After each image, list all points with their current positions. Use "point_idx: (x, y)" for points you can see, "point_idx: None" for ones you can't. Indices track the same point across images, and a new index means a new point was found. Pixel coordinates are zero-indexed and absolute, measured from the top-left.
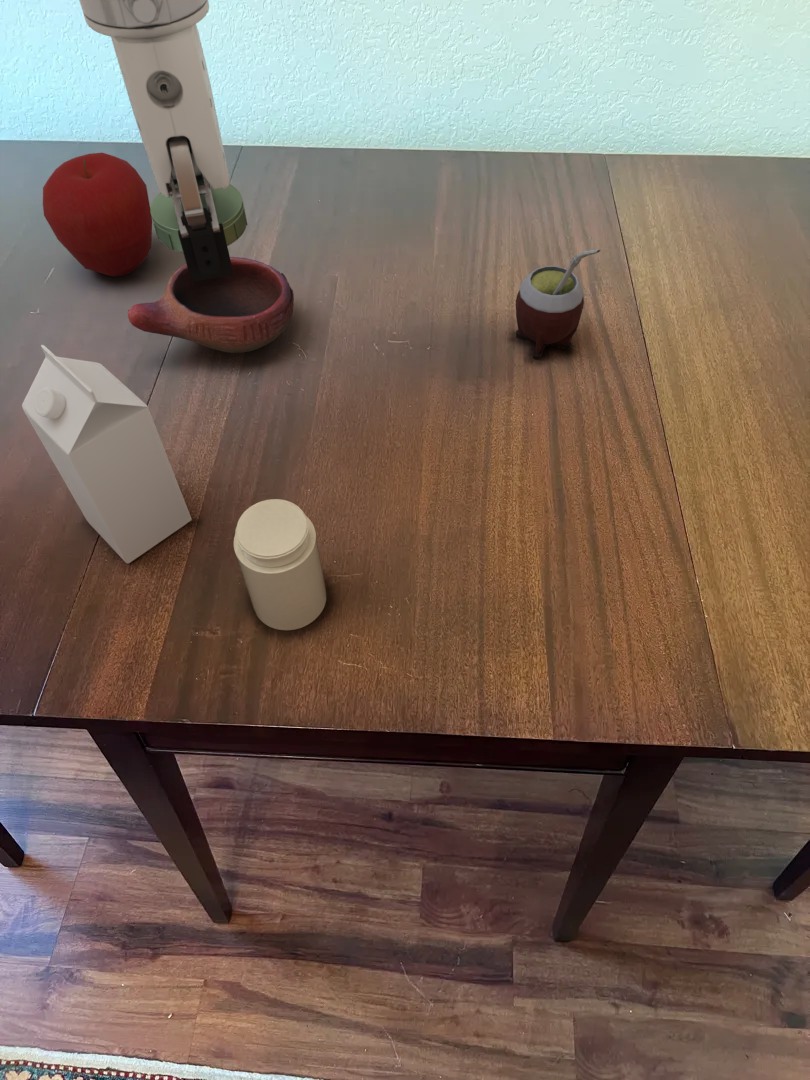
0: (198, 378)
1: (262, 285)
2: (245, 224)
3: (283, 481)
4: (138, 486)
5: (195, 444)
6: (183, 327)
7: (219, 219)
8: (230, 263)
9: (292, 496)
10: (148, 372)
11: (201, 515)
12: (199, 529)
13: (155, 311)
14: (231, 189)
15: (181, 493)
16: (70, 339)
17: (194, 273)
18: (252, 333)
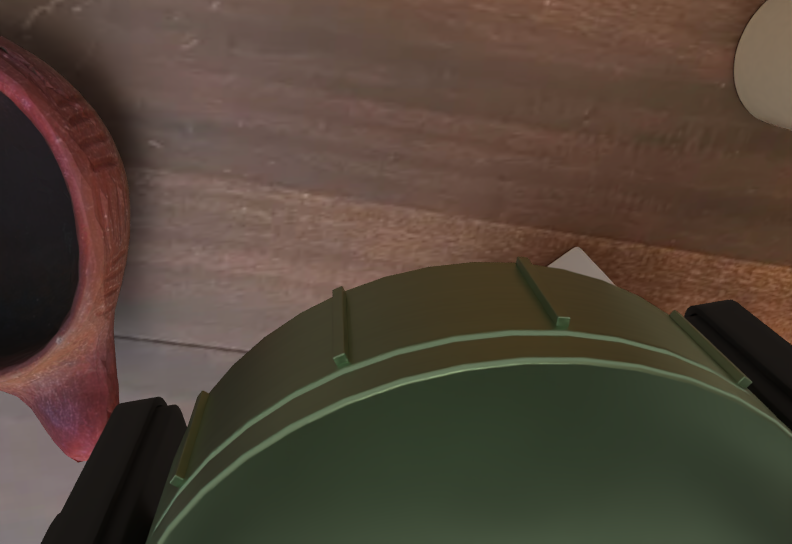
0: (172, 260)
1: None
2: (544, 274)
3: (510, 62)
4: None
5: (377, 252)
6: (107, 325)
7: (781, 518)
8: (763, 327)
9: (556, 42)
10: (154, 362)
11: (564, 229)
12: (596, 230)
13: (79, 402)
14: (312, 465)
15: (609, 279)
16: (55, 512)
17: None
18: (96, 142)
